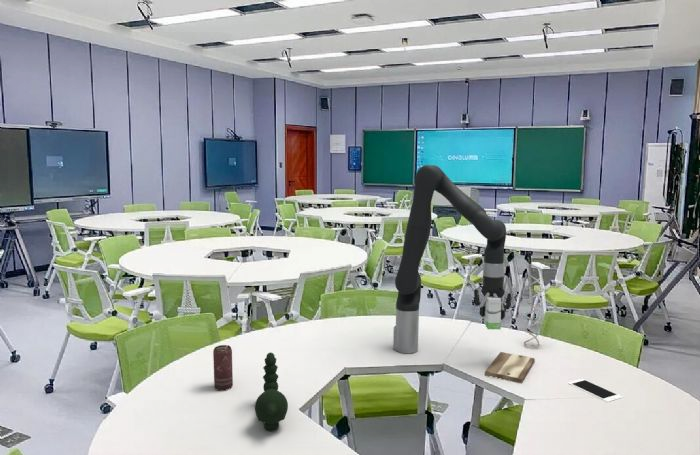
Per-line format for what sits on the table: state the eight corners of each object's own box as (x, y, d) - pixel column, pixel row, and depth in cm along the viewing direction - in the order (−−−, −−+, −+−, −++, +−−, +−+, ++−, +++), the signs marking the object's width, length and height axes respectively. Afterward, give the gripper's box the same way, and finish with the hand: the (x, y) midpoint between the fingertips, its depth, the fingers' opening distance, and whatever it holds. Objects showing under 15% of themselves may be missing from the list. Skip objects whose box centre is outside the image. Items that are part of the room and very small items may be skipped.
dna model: (543, 347, 219) (547, 276, 215) (533, 350, 216) (537, 278, 212) (529, 342, 225) (533, 273, 221) (519, 345, 221) (523, 275, 217)
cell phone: (607, 403, 172) (607, 401, 172) (567, 384, 186) (567, 382, 186) (623, 398, 175) (623, 396, 175) (582, 379, 189) (582, 378, 189)
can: (236, 384, 182) (235, 345, 180) (226, 392, 176) (225, 351, 174) (221, 381, 184) (220, 343, 182) (210, 389, 178) (209, 349, 176)
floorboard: (484, 375, 192) (484, 370, 191) (500, 355, 210) (500, 350, 210) (521, 383, 185) (521, 378, 185) (534, 362, 204) (534, 357, 204)
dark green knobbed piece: (256, 407, 170) (254, 442, 145) (255, 348, 169) (253, 374, 144) (285, 405, 171) (289, 439, 147) (285, 347, 170) (288, 372, 146)
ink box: (501, 329, 195) (501, 298, 193) (487, 329, 195) (488, 298, 194) (496, 322, 203) (497, 292, 202) (483, 322, 204) (483, 292, 202)
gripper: (471, 274, 197) (470, 317, 199) (510, 278, 190) (509, 323, 192) (477, 270, 203) (476, 312, 206) (515, 274, 196) (514, 317, 198)
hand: (492, 317), depth 199 cm, fingers closed on ink box, 6 cm apart
